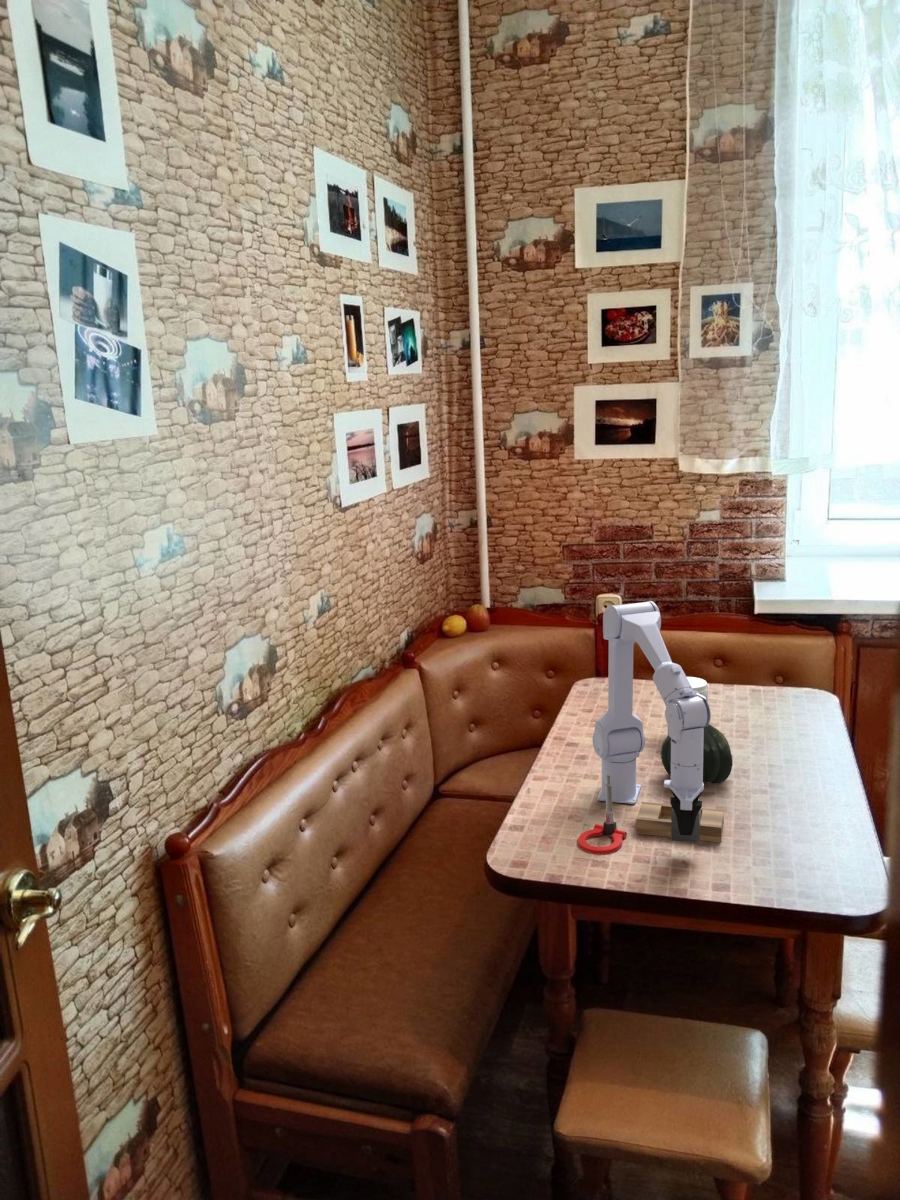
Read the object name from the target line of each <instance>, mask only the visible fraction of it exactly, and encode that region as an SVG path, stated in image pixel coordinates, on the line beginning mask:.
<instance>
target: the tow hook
mask: <svg viewBox="0 0 900 1200" xmlns="http://www.w3.org/2000/svg"><path fill="white" fill-rule="evenodd" d="M605 789H606V801H605V821H604V822H603V825H600V824H598V823H595V824H594V826H593V829H588V830H586V831H584V832H582V833H580V835H578V838H577V845H578V846H579V848H580V849H581V850H583V851H585V852H587V853H590V852H591V854H596V853H597V855H599V854H600V855H603V854H604V855H605V853H606V854H611V853H613V852H616V851H617V850H620V848H621V847H622V845H623V840H626V838H627V837H628V833H627V831H626V830H625V831H624V830H620V829H617V822H616V821H614V810H613V802H612V785H611V784H610V774H606V784H605ZM603 834H604V835H605V836H606V835H607V836H610V837H611V839H612V841H613V842H612V843H611V844H609V845H605V846H595V845H591V844H589V843H588V842H587V840H588V839H589V838H592V837H593V838H594V837H598V836H599V837H600V836H602V835H603ZM598 853H599V854H598ZM602 853H603V854H602Z"/></svg>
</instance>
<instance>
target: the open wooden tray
mask: <svg viewBox="0 0 900 1200" xmlns="http://www.w3.org/2000/svg"><path fill="white" fill-rule="evenodd" d="M671 811H672V806H671V804H670V803H668V804H667V803H659V802H658V803H657V802H650V801H649V802H648V801H641V804H640V807H639V809H638V813H637V816H636V822H635V823H636V826H635V827H636V834H642V835H651V836H659V837H669V838H671ZM724 816H725V809H718V808H709V807H708V808H707V807H701V822H700V841H707V842H715V843H722V838H723V833H724V832H723V830H724V824H725V823H724V819H725V817H724Z"/></svg>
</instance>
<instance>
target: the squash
mask: <svg viewBox="0 0 900 1200" xmlns="http://www.w3.org/2000/svg"><path fill="white" fill-rule="evenodd" d="M703 728H704V741H703V783H709V784H712V785H713V784H714V785H717V784H721V783H723V782H725V781H726V780H728V778H729V776H731V772H732V770H733V769H732V768H733V755H732V750H731V746H730V744H729V741H728V739H727V738H726V736H725V735H724V734H723V732H721V731H720V730H719V729H718V728H716V727H715V726H713V725H712V724H710V723H709V725H708V726H706V727H703ZM660 758H661V763H662V765H663V768H664V770H665V771H666V774H667V775H668V776H669V777H670V778H671V737H669V735H668V734H667V737H665V739H664V742H663V744H662V746H661V753H660Z"/></svg>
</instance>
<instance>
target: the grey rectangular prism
mask: <svg viewBox="0 0 900 1200" xmlns="http://www.w3.org/2000/svg"><path fill="white" fill-rule="evenodd" d="M700 822H701V809H700V810H699V812H698V814H697V816H696V820H695V824H694V829H693V833H692V835H691V836H690V835H680V832H679V828H678V823H677V818H676V814H675V812H674V810H673V808H672V811H671V837H670V839H671V841H673V842H681V843H691V844H700V841H701V840H700Z"/></svg>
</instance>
